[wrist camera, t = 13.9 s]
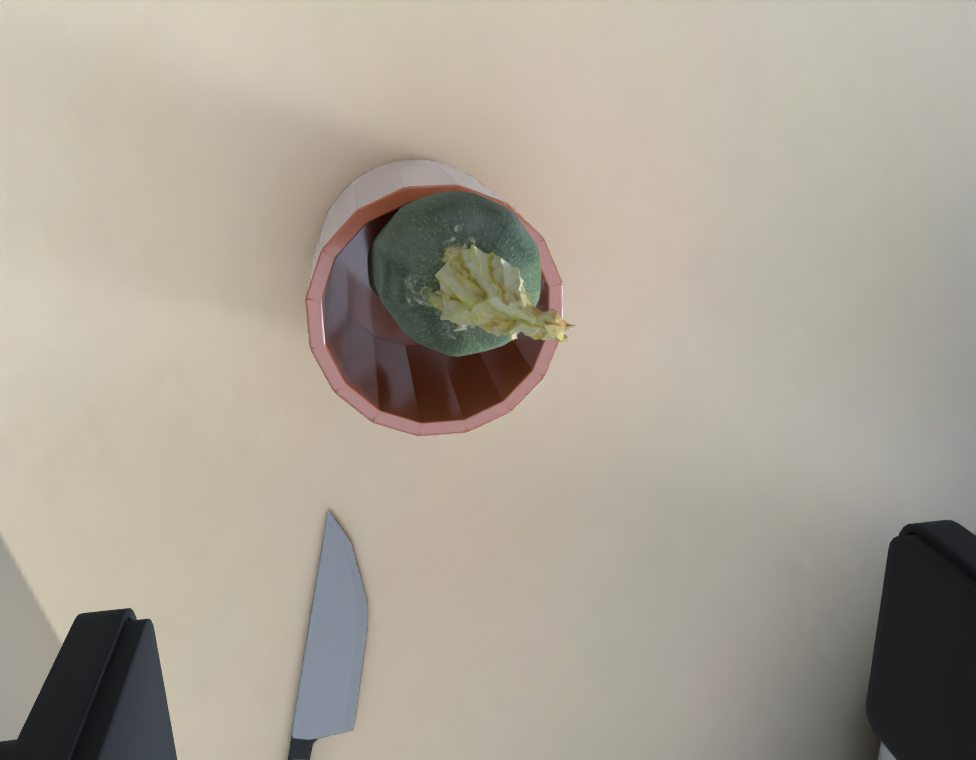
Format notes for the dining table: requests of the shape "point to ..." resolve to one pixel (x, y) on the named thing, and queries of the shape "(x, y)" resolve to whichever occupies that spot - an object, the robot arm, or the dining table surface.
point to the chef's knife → (331, 647)
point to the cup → (381, 342)
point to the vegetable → (460, 275)
